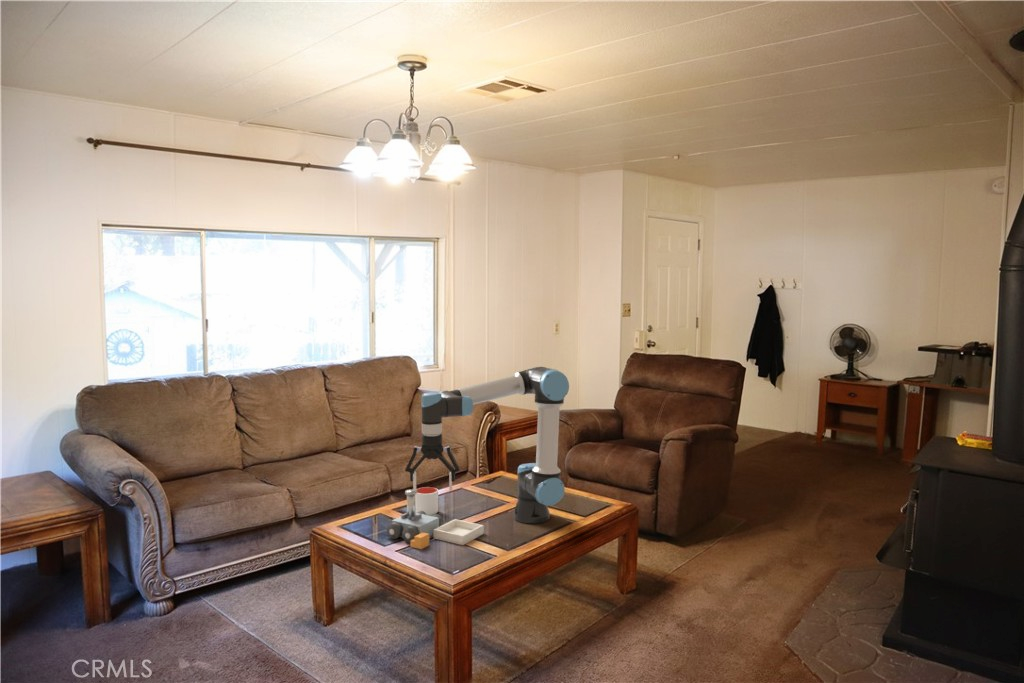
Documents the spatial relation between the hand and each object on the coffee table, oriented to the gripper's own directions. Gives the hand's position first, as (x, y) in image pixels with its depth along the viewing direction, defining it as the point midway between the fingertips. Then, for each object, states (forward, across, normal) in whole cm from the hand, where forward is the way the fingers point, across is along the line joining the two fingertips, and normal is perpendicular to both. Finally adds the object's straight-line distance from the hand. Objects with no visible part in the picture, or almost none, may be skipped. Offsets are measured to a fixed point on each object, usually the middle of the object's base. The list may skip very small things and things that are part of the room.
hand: (432, 489), depth 255 cm
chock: (+22, +5, +1) cm, 22 cm away
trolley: (+21, +9, -11) cm, 26 cm away
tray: (+21, -9, -10) cm, 25 cm away
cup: (+22, +8, -36) cm, 43 cm away
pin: (+15, +10, -12) cm, 22 cm away
